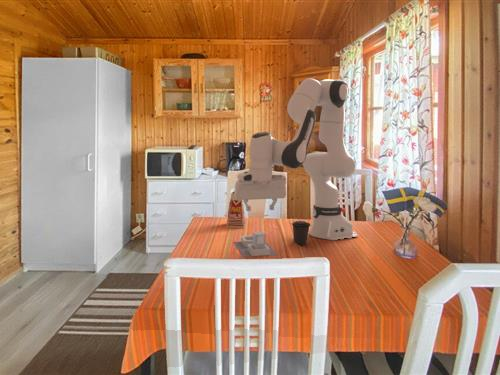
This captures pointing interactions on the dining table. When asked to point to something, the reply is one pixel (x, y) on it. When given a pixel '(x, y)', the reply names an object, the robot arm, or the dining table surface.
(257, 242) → the plug
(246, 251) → the panel
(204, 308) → the dining table surface
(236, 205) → the milk carton
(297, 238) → the coffee cup
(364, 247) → the dining table surface
